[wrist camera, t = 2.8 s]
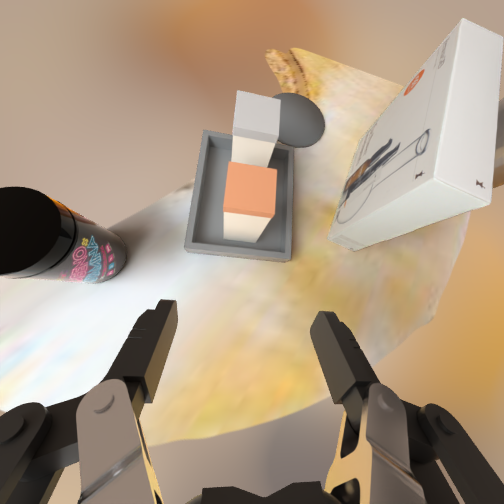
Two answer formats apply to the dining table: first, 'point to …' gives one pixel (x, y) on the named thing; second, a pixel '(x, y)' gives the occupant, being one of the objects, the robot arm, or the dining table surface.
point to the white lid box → (255, 128)
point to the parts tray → (212, 199)
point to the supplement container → (54, 241)
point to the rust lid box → (248, 201)
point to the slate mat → (299, 120)
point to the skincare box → (427, 145)
